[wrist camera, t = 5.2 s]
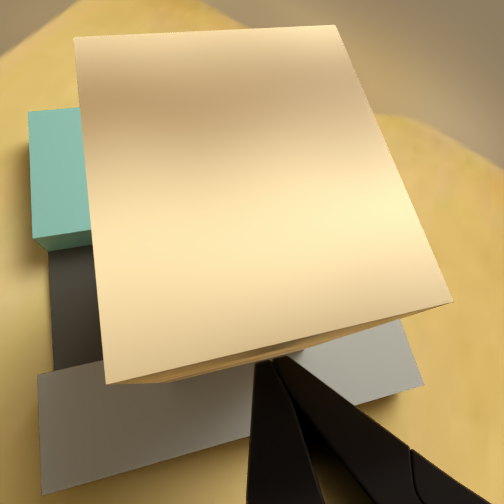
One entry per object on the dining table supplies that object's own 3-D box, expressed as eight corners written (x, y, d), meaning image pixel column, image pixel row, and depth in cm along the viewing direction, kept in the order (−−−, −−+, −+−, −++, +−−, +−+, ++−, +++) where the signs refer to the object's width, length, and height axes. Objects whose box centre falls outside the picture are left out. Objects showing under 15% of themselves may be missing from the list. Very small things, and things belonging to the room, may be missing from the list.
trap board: (400, 384, 18) (424, 385, 16) (62, 481, 14) (41, 496, 12) (304, 111, 23) (313, 87, 21) (44, 137, 20) (28, 111, 18)
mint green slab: (338, 207, 21) (351, 189, 19) (50, 253, 18) (32, 238, 16) (304, 111, 23) (313, 87, 21) (44, 137, 20) (28, 111, 18)
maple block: (304, 349, 16) (453, 301, 6) (169, 382, 14) (106, 384, 5) (266, 211, 18) (335, 24, 8) (146, 230, 17) (73, 37, 7)
